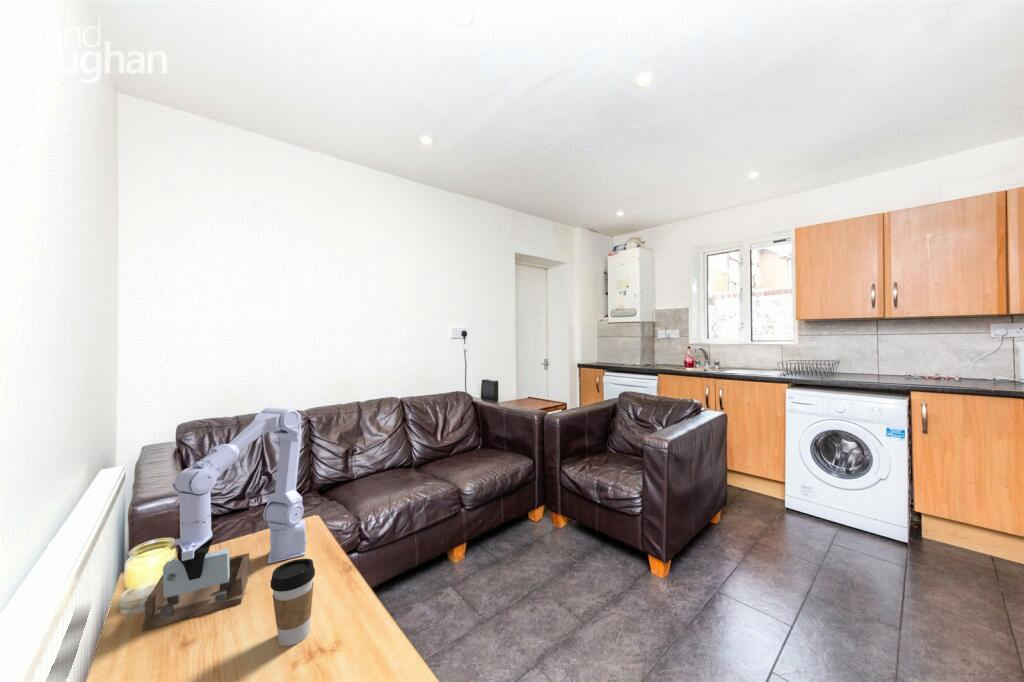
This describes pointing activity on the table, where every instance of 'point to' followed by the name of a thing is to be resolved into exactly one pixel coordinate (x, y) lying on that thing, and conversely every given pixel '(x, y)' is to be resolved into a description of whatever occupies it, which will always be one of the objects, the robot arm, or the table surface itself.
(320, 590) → the table surface
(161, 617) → the cabinet
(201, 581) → the door
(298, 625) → the coffee cup
